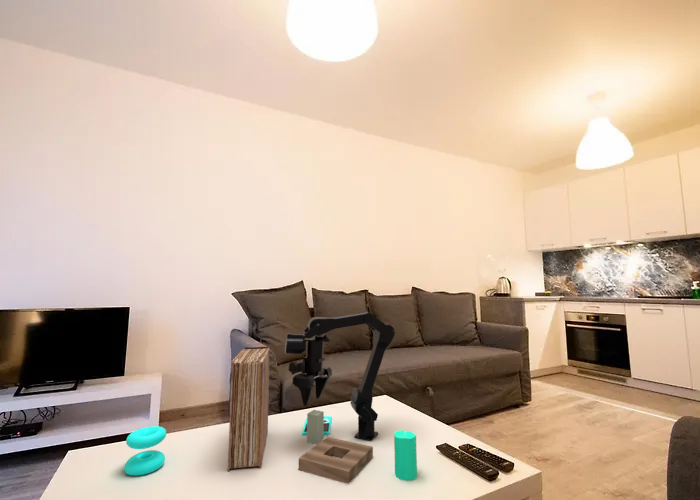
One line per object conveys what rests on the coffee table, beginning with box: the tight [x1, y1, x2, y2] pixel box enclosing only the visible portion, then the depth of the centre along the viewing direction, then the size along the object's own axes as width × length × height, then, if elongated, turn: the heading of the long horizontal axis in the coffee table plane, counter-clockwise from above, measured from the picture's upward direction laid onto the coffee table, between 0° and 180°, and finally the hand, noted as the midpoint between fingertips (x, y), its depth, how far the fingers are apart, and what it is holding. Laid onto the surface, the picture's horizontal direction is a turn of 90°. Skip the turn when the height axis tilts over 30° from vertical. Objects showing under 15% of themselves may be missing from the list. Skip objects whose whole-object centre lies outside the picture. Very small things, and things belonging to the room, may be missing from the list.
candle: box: [393, 429, 418, 482], centre depth 93 cm, size 6×6×12 cm
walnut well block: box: [298, 436, 374, 485], centre depth 99 cm, size 16×16×3 cm
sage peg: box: [306, 409, 325, 445], centre depth 114 cm, size 4×4×9 cm
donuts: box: [123, 425, 167, 476], centre depth 97 cm, size 10×10×10 cm
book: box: [227, 346, 270, 472], centre depth 109 cm, size 25×9×30 cm, turn 9°
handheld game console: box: [301, 415, 332, 436], centre depth 126 cm, size 10×16×1 cm, turn 1°
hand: (311, 401), depth 114 cm, fingers open, 9 cm apart
